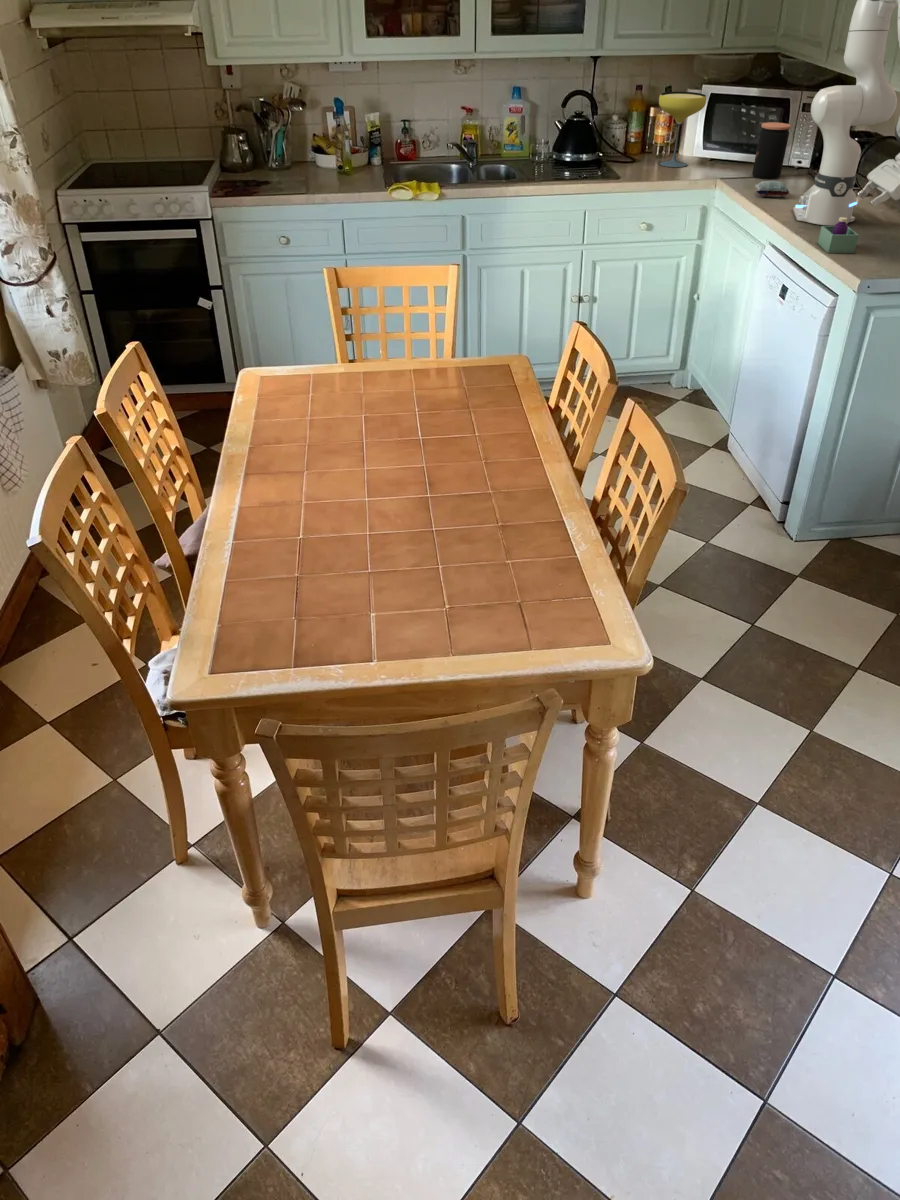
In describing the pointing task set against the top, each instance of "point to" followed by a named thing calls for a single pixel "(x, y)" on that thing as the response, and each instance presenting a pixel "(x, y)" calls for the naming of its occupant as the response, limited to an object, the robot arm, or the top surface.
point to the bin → (837, 240)
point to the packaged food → (772, 189)
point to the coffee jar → (771, 150)
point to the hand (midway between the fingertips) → (865, 200)
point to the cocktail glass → (680, 113)
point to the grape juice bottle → (840, 227)
